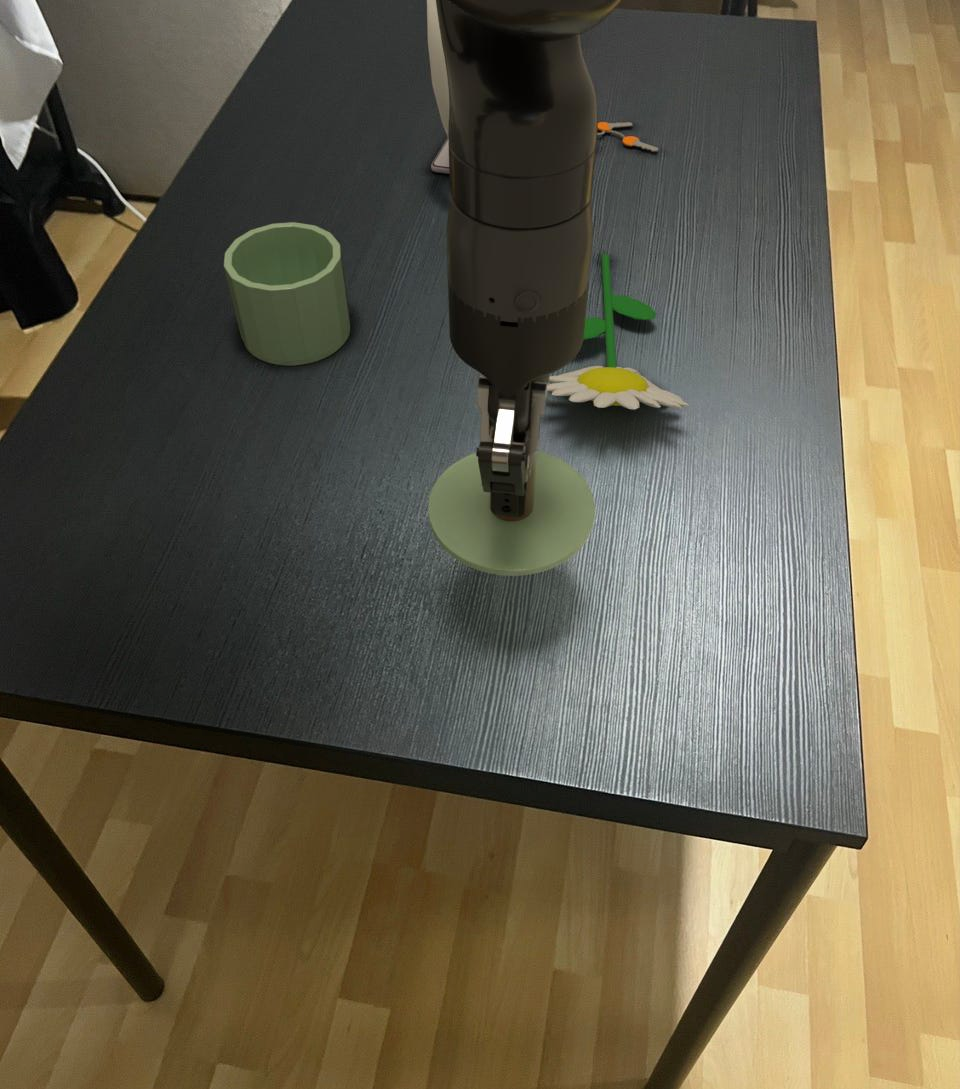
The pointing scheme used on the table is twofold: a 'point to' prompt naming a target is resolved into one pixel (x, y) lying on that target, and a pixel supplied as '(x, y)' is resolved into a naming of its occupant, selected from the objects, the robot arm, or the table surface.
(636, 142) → the key chain
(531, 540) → the lid
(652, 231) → the table surface
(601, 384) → the decorative flower
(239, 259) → the tin
